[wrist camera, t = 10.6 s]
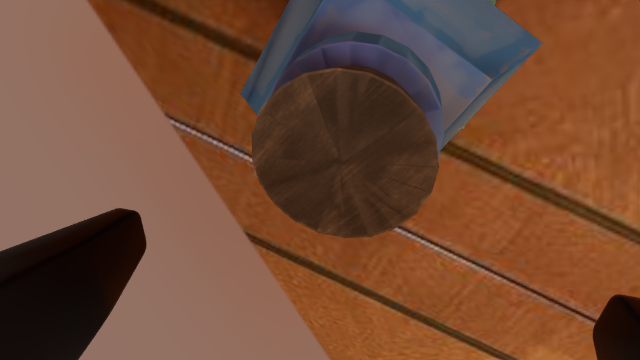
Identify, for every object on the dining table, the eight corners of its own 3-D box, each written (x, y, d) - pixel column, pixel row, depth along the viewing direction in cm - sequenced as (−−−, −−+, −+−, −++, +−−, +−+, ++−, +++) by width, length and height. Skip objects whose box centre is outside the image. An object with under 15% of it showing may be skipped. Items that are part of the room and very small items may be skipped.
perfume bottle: (372, -89, 15) (267, -168, 5) (501, 11, 15) (655, 131, 5) (292, 51, 18) (128, 183, 8) (401, 128, 19) (379, 340, 9)
